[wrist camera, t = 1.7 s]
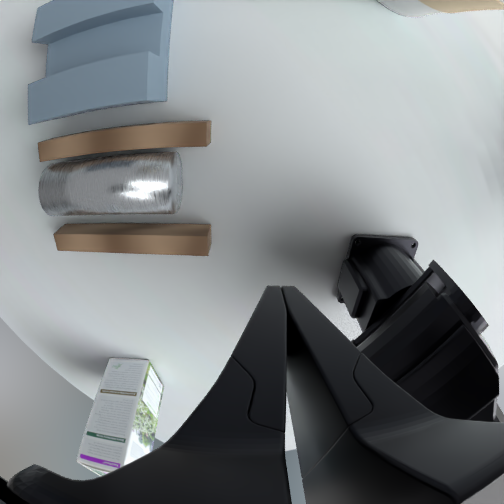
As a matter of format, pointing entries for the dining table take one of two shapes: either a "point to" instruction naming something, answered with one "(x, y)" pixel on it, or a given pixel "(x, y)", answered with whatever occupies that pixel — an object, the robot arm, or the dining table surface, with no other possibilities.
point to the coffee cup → (439, 6)
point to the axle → (113, 185)
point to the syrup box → (122, 416)
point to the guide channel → (132, 234)
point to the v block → (100, 56)
